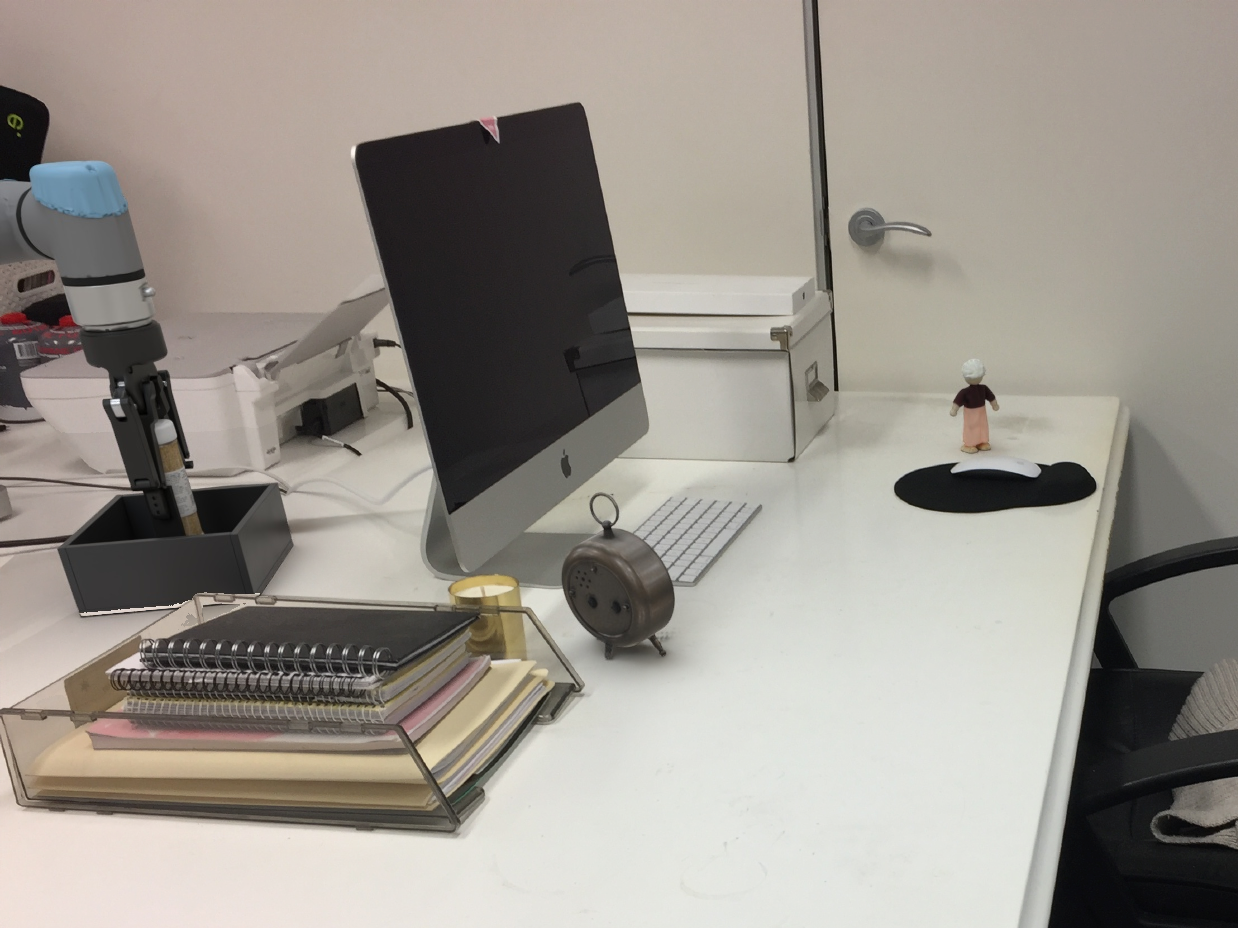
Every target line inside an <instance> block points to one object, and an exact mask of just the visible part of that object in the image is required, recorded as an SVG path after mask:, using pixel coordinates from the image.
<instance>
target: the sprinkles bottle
mask: <svg viewBox="0 0 1238 928" xmlns="http://www.w3.org/2000/svg"><path fill="white" fill-rule="evenodd" d="M155 433H156V437H157V440H158V444H159V449H160V454H161V459H162V464H163V468H164V473H165V478H166V482H167V486H172V489H173V492H174V496H175V499H176V503H177V506H178V509H179V513H180V516H181V519H182V523H183V526H184V530H185V533H186V536H189V535H201V534H204V532H203V531H202V529H201V526H200V522H199V519H198V515H197V512H196V510H197V508H196V505H195V501H194V498H193V494H192V491H191V489H192V487H191V484H189V483H190V480H189V476H188V473H187V469H185V467H184V465H183V462H182V458H181V455H180V452H179V448H178V445H177V439H176V438H177V434H176V431H175V428H174V425H173V422H172V421H170V420H168V419H158V422H157V423H155ZM187 476H188V477H187ZM188 480H189V481H188Z"/></svg>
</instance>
